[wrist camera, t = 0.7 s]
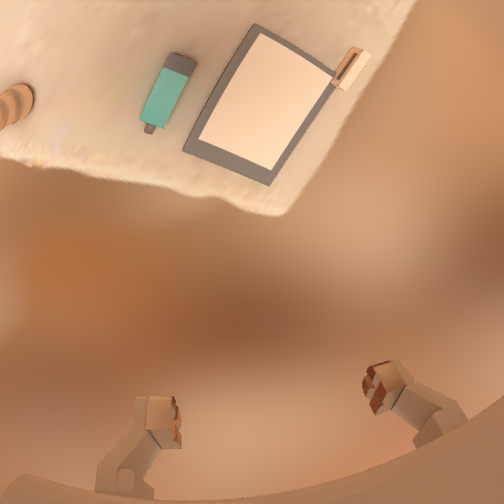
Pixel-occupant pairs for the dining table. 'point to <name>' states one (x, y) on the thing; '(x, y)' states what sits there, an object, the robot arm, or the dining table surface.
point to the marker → (166, 91)
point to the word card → (350, 68)
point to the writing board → (260, 107)
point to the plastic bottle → (14, 105)
